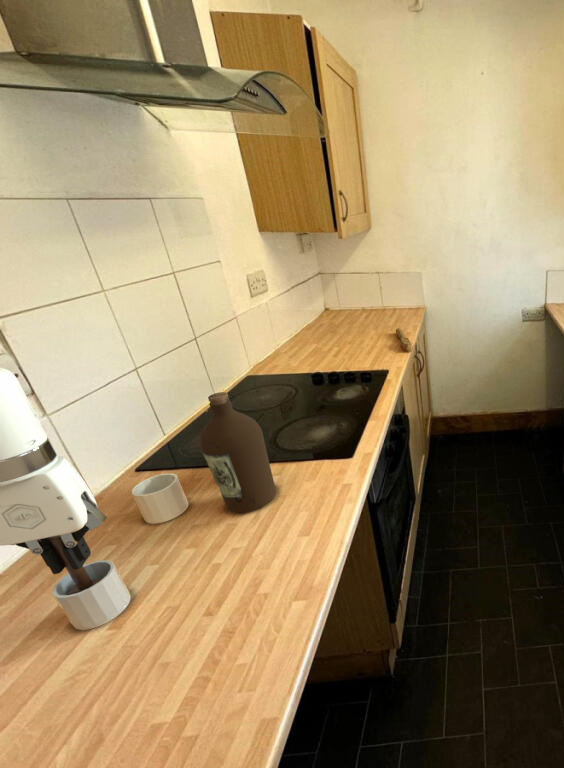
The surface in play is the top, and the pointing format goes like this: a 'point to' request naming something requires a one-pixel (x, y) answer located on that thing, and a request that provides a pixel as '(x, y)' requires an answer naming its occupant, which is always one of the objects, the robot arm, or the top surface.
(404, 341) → the rough brown stick
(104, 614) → the white mortar
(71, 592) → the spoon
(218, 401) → the olive oil
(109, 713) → the top surface
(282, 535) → the top surface
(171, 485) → the white cup
